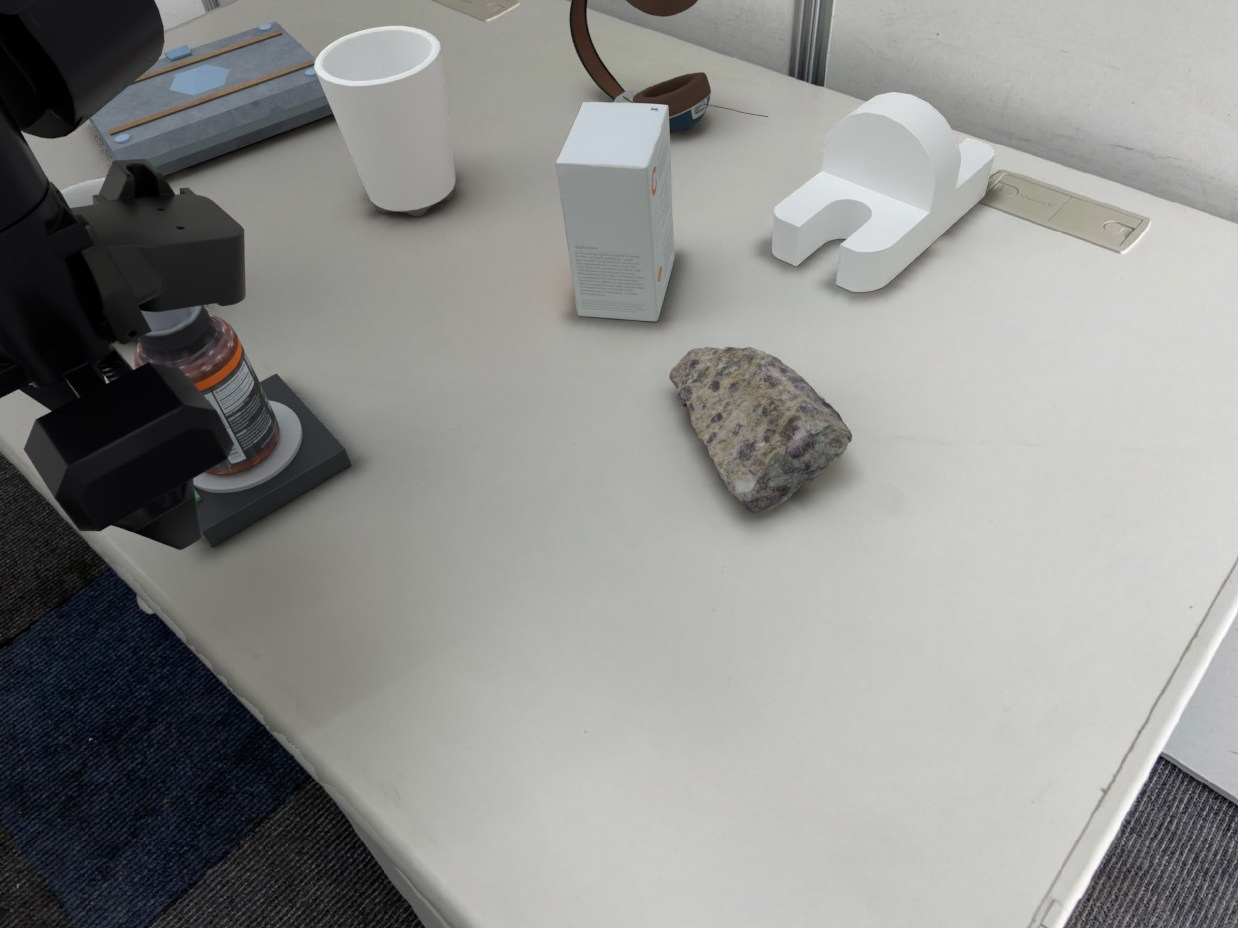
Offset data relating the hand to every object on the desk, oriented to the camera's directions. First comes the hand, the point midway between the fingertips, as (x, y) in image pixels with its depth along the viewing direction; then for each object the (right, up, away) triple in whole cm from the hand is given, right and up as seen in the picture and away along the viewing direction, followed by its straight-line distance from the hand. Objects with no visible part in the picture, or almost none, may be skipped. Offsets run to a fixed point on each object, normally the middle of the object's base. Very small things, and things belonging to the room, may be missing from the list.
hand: (149, 487), depth 47 cm
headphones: (+27, +33, +44) cm, 61 cm away
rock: (+31, +3, +17) cm, 35 cm away
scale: (-2, +1, +18) cm, 19 cm away
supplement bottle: (-2, +2, +17) cm, 17 cm away
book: (-17, +35, +50) cm, 64 cm away
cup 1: (-16, +14, +31) cm, 38 cm away
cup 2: (+5, +25, +39) cm, 46 cm away
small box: (+23, +15, +28) cm, 39 cm away
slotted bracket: (+44, +21, +32) cm, 58 cm away
